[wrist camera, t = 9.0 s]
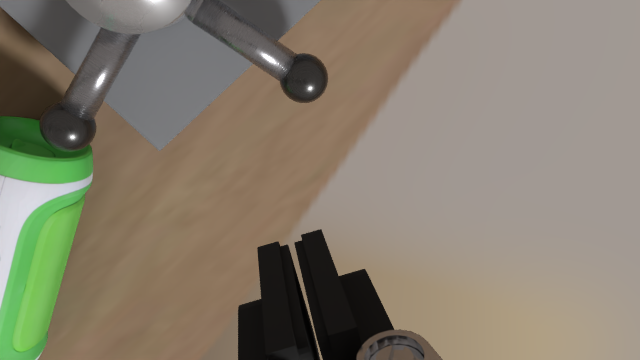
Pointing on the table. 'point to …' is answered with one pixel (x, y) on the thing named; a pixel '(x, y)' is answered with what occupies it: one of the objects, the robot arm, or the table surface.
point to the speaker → (35, 230)
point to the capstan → (152, 14)
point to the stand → (158, 59)
